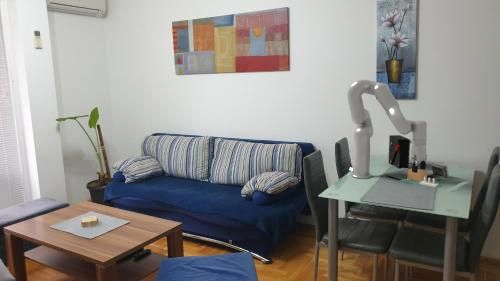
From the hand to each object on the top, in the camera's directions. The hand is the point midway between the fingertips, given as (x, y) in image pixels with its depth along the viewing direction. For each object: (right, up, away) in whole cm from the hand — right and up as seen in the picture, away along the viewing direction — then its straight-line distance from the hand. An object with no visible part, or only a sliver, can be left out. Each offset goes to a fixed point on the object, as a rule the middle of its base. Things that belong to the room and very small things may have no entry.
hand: (418, 170), depth 230 cm
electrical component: (+4, 0, +42) cm, 42 cm away
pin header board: (0, -8, -4) cm, 9 cm away
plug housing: (-1, -5, +1) cm, 5 cm away
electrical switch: (+16, -5, +8) cm, 19 cm away
